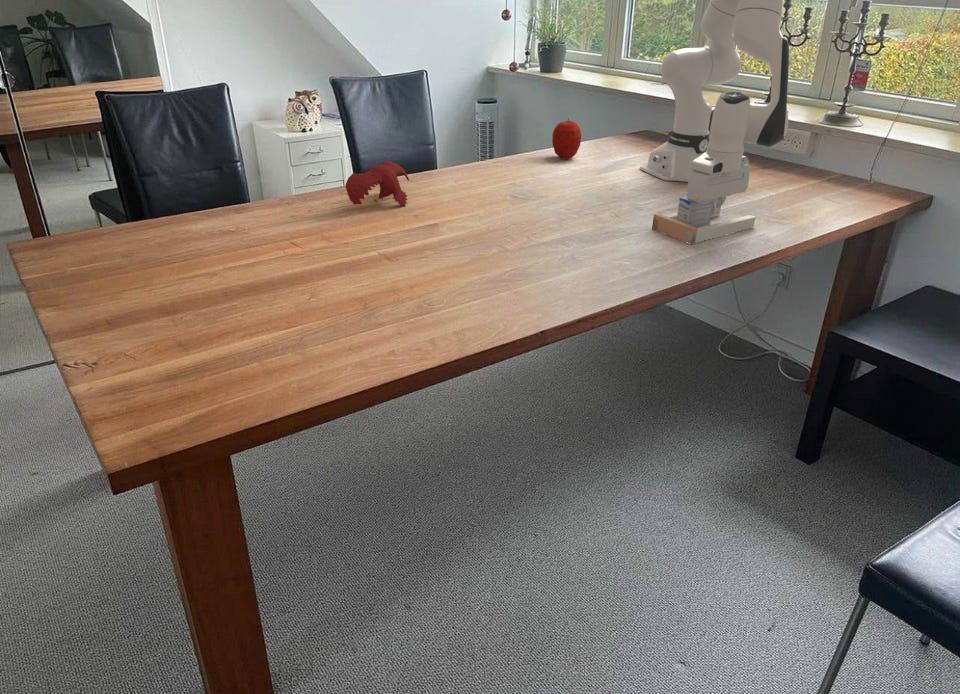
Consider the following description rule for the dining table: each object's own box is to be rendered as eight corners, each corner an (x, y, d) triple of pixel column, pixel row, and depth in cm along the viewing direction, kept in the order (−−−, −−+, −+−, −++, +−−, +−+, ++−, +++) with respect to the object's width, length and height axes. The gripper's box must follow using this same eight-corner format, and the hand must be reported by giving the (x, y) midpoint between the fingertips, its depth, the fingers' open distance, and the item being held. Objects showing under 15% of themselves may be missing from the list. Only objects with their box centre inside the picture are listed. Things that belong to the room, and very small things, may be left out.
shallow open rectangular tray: (651, 228, 185) (653, 214, 183) (713, 213, 196) (716, 199, 194) (690, 244, 175) (693, 229, 173) (753, 227, 187) (756, 213, 185)
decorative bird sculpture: (416, 205, 214) (386, 164, 212) (435, 187, 208) (405, 146, 207) (363, 233, 192) (329, 188, 190) (383, 215, 186) (348, 168, 184)
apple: (551, 154, 253) (554, 114, 247) (579, 155, 252) (583, 115, 245) (550, 161, 244) (552, 120, 238) (579, 162, 243) (582, 121, 237)
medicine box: (697, 224, 188) (702, 192, 184) (709, 229, 184) (714, 197, 180) (674, 229, 185) (679, 197, 180) (686, 234, 181) (691, 202, 177)
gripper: (739, 152, 185) (730, 203, 192) (686, 163, 175) (678, 216, 182) (759, 157, 181) (749, 209, 188) (706, 168, 171) (697, 223, 178)
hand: (714, 213), depth 185 cm, fingers closed
